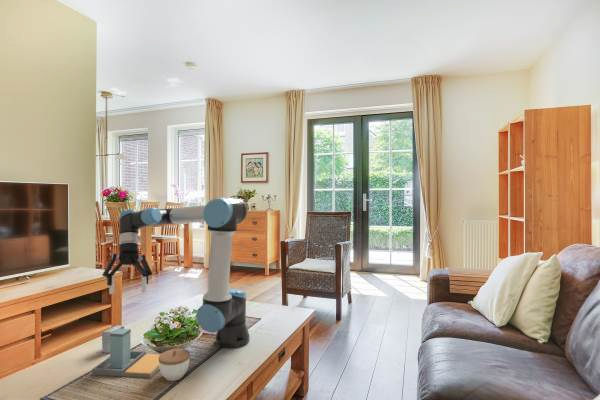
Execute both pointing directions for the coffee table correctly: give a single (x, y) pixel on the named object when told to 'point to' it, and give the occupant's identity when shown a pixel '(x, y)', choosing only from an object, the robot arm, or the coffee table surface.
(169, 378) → the lidded jar
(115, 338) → the block
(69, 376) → the coffee table surface
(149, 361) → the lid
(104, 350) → the medicine box
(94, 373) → the shallow grey tray
